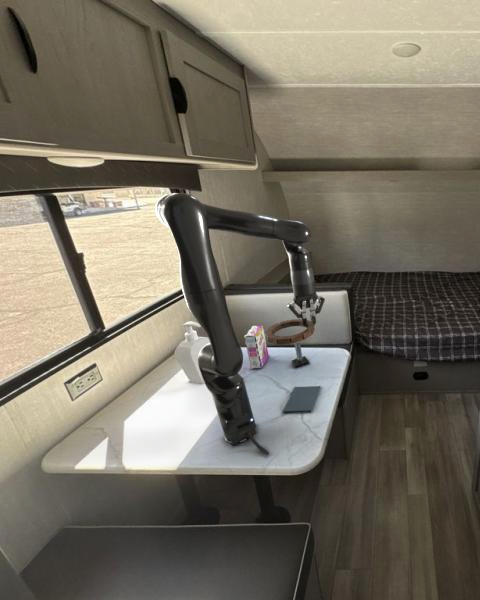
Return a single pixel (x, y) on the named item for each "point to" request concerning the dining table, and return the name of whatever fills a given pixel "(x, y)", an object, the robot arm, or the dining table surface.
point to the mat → (302, 399)
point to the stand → (299, 357)
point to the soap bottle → (191, 352)
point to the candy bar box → (256, 346)
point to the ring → (289, 339)
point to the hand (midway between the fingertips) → (309, 325)
